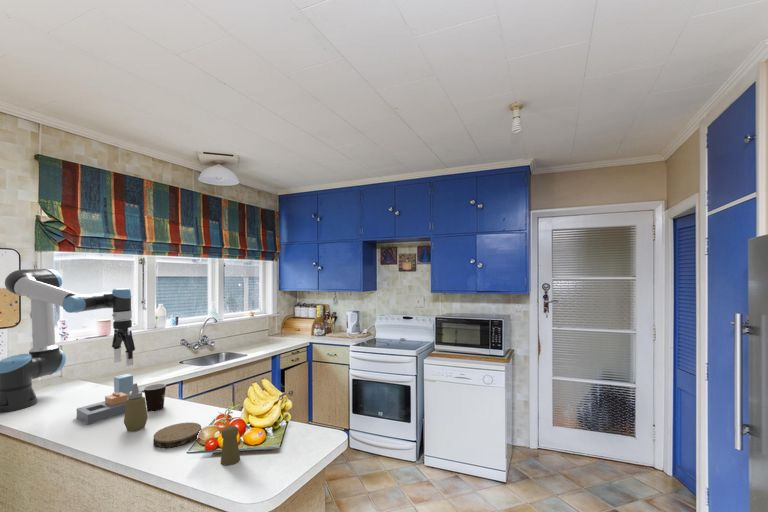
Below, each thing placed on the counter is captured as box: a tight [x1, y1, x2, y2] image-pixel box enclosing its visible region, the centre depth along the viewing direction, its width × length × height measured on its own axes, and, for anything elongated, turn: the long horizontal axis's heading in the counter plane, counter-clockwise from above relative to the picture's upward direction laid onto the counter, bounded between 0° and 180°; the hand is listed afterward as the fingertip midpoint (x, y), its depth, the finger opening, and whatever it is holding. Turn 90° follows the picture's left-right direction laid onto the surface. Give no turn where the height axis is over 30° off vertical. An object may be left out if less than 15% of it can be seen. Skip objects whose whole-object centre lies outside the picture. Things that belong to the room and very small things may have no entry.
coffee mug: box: [143, 383, 167, 412], centre depth 178 cm, size 12×9×10 cm
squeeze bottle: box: [123, 382, 148, 433], centre depth 156 cm, size 8×8×18 cm
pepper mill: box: [220, 425, 241, 467], centre depth 128 cm, size 6×6×11 cm
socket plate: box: [76, 398, 129, 425], centre depth 172 cm, size 18×13×4 cm
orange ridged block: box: [104, 392, 127, 406], centre depth 175 cm, size 6×6×4 cm
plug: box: [113, 373, 134, 398], centre depth 190 cm, size 6×6×12 cm
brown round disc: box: [153, 422, 202, 450], centre depth 146 cm, size 16×16×3 cm
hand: (123, 363), depth 190 cm, fingers open, 13 cm apart
